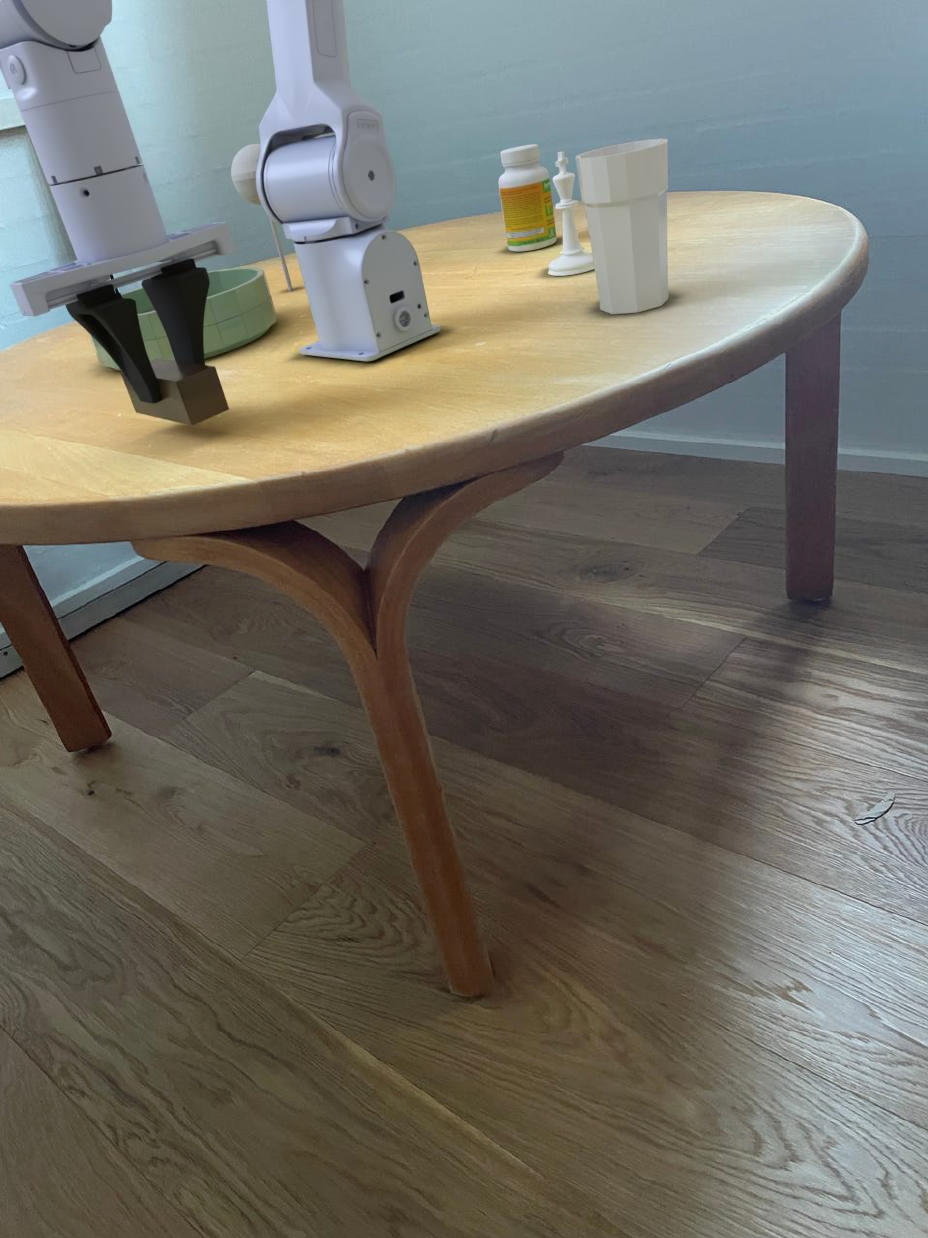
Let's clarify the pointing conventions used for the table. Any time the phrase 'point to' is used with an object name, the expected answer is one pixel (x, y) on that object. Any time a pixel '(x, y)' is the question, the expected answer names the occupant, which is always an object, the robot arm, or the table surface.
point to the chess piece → (568, 227)
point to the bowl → (210, 315)
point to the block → (183, 392)
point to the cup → (627, 222)
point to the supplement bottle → (526, 200)
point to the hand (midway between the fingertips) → (174, 391)
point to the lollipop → (253, 188)
